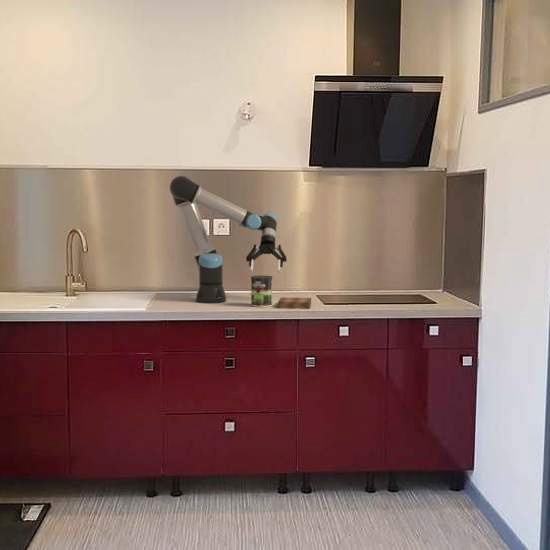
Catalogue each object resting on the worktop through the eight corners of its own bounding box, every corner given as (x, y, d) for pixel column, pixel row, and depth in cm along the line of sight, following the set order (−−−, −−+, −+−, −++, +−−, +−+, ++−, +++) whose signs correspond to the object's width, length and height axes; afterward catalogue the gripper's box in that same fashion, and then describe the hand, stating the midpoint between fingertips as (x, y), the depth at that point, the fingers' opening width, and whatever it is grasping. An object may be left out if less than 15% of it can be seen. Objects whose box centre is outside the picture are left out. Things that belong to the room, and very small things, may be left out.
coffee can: (268, 307, 341) (268, 278, 340) (247, 306, 345) (247, 277, 343) (275, 304, 351) (275, 275, 349) (255, 303, 354) (255, 275, 353)
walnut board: (277, 308, 340) (277, 301, 339) (280, 303, 354) (280, 297, 354) (309, 308, 338) (309, 302, 338) (311, 303, 353) (311, 297, 353)
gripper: (292, 243, 371) (290, 276, 358) (244, 243, 373) (241, 275, 360) (292, 234, 365) (290, 266, 352) (243, 234, 367) (239, 266, 354)
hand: (265, 271), depth 356 cm, fingers open, 13 cm apart
